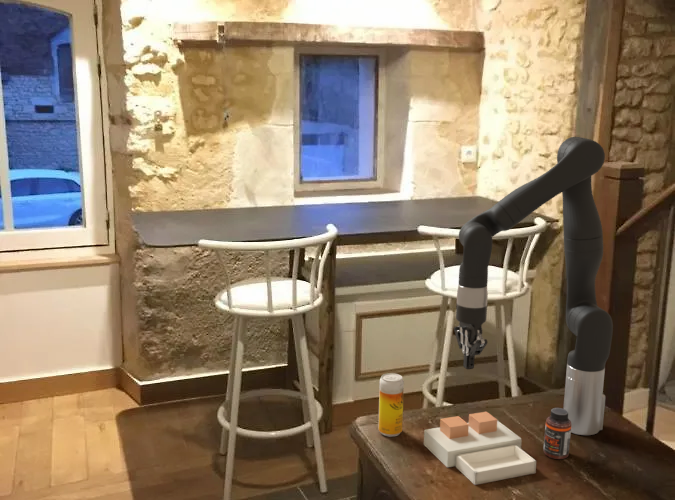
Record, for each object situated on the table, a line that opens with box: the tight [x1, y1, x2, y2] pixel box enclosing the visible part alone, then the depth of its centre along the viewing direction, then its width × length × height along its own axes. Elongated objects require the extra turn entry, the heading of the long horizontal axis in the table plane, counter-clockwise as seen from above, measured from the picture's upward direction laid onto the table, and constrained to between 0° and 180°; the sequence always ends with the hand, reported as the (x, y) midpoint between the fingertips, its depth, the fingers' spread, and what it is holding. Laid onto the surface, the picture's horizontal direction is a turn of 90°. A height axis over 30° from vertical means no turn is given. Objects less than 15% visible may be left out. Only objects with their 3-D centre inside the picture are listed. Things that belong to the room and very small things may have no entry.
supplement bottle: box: [543, 407, 572, 460], centre depth 180 cm, size 6×6×11 cm
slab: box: [423, 419, 522, 468], centre depth 183 cm, size 20×12×4 cm, turn 110°
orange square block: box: [439, 415, 469, 439], centre depth 183 cm, size 5×5×3 cm
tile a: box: [468, 411, 498, 434], centre depth 185 cm, size 5×5×3 cm
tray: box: [455, 445, 537, 486], centre depth 173 cm, size 16×8×3 cm, turn 110°
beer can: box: [377, 372, 405, 438], centre depth 190 cm, size 6×6×15 cm
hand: (468, 368), depth 190 cm, fingers closed
